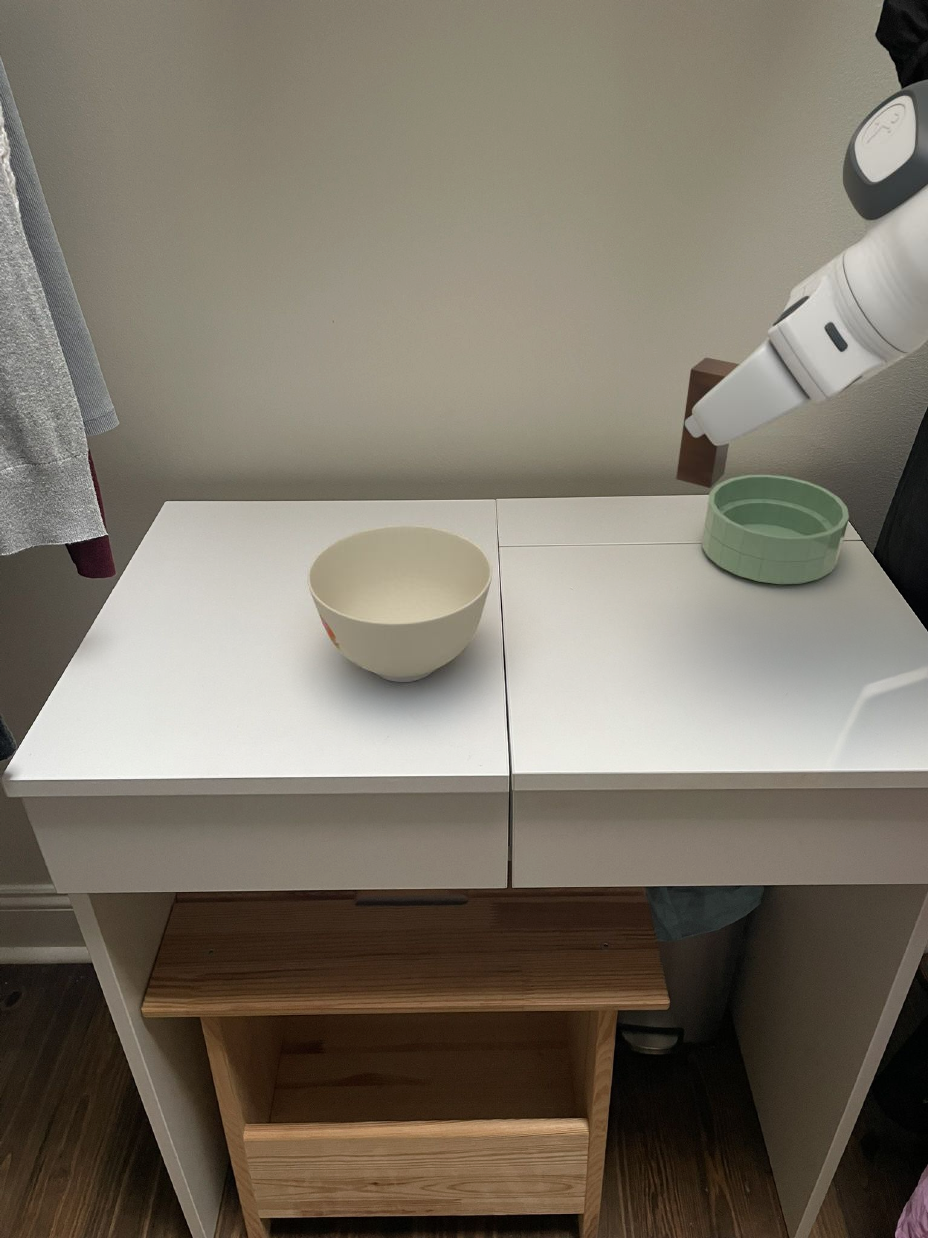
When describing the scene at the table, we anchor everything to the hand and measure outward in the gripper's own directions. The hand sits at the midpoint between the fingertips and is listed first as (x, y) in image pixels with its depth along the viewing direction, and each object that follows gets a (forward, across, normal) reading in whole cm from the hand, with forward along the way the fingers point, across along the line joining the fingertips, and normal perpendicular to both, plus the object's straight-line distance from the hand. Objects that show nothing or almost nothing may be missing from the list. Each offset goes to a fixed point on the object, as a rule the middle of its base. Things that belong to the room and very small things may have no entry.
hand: (702, 418), depth 80 cm
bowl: (+28, +19, +2) cm, 34 cm away
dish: (+13, -18, +18) cm, 28 cm away
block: (+3, 0, +4) cm, 5 cm away
